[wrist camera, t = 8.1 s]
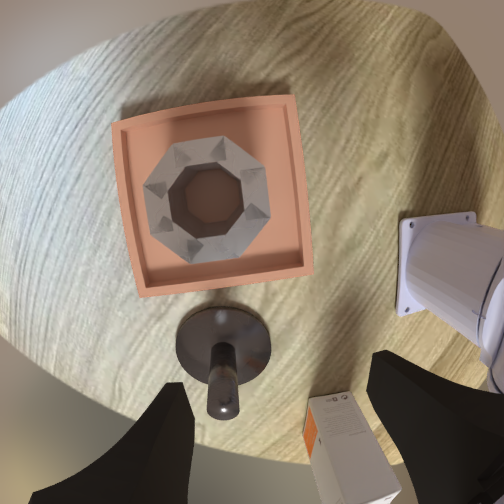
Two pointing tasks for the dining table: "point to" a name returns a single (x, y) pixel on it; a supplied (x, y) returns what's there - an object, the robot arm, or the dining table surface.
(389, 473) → the skincare box
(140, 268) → the tray
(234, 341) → the stand
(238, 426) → the dining table surface
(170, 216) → the octagonal pencil cup
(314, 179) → the dining table surface
